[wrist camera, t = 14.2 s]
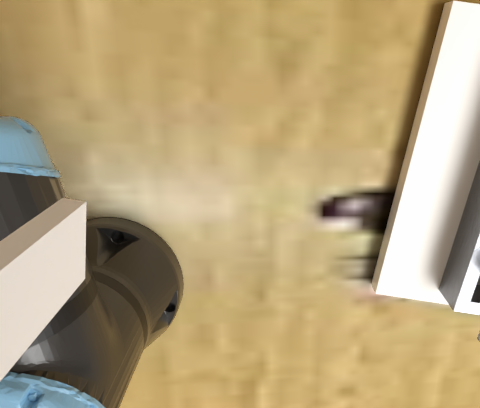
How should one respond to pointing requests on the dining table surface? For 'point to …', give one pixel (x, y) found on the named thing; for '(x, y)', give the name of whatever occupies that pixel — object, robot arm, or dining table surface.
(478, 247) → the grey compartment rack
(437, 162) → the white board
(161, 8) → the dining table surface
